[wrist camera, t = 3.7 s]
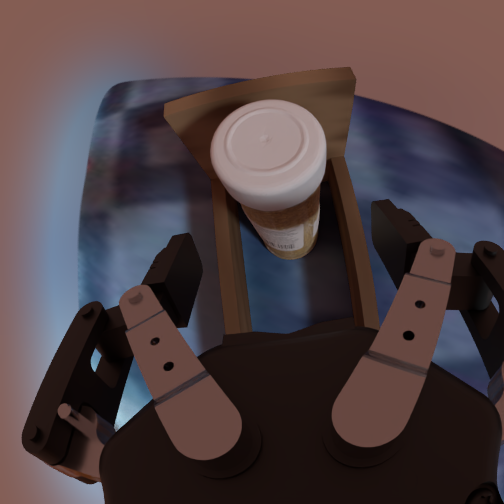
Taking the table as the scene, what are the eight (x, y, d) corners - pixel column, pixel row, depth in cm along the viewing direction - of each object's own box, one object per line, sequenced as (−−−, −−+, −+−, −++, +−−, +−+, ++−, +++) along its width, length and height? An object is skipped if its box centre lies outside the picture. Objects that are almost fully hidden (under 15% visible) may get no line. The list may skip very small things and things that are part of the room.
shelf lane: (336, 169, 23) (350, 67, 12) (373, 393, 19) (427, 463, 7) (224, 188, 25) (164, 103, 13) (250, 410, 21) (197, 487, 9)
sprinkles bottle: (328, 227, 22) (349, 126, 9) (295, 272, 22) (279, 218, 9) (283, 196, 24) (254, 81, 11) (250, 239, 23) (184, 156, 10)
